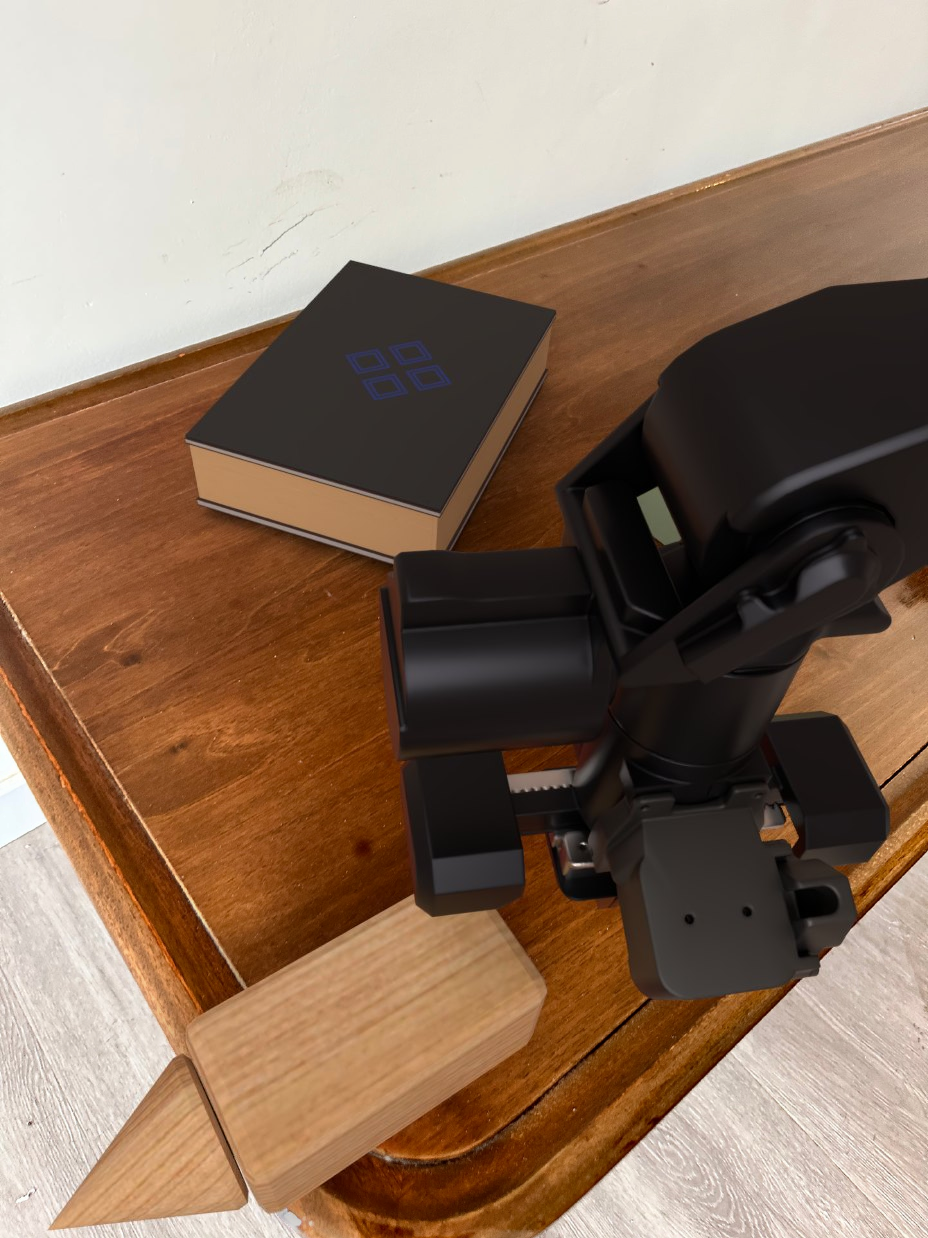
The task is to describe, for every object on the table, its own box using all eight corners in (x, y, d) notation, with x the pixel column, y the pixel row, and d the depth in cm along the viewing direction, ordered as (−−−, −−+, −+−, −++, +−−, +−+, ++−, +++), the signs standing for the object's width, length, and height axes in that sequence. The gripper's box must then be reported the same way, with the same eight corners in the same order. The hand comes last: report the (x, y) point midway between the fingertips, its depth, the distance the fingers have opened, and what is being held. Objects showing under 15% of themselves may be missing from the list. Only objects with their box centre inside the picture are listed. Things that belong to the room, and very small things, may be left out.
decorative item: (466, 857, 42) (-6, 1124, 34) (556, 986, 38) (52, 1319, 30) (457, 921, 46) (44, 1167, 39) (536, 1041, 43) (99, 1340, 35)
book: (198, 514, 65) (183, 435, 60) (351, 332, 81) (349, 259, 76) (435, 587, 61) (440, 510, 56) (546, 383, 77) (557, 309, 72)
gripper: (450, 963, 26) (427, 1120, 37) (1062, 881, 28) (864, 1050, 40) (401, 648, 33) (395, 861, 44) (894, 608, 36) (767, 818, 47)
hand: (603, 898), depth 44 cm, fingers closed
